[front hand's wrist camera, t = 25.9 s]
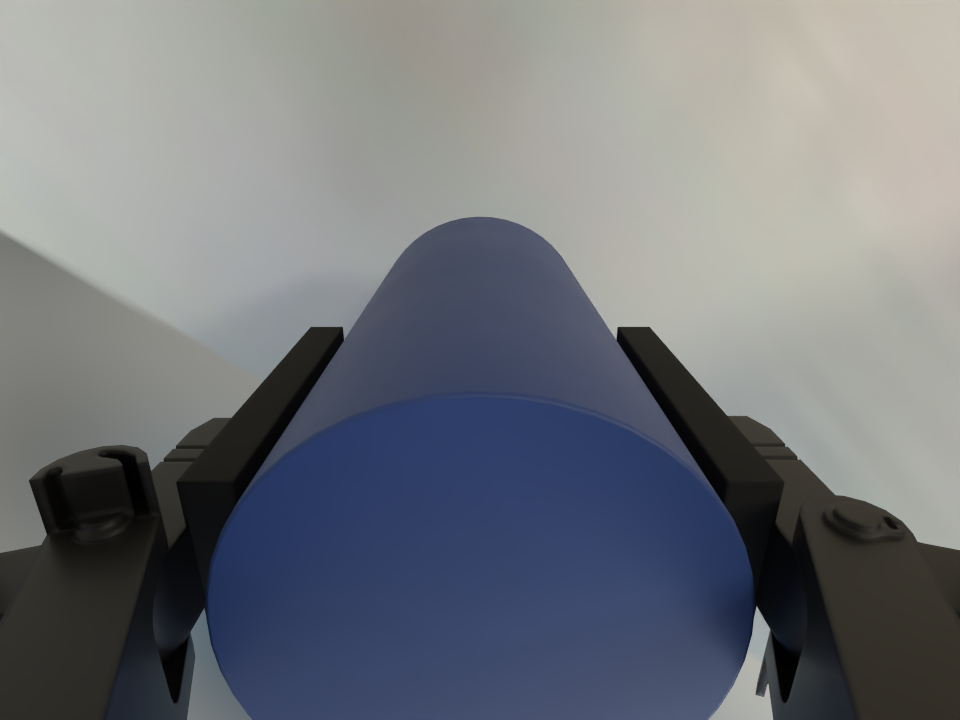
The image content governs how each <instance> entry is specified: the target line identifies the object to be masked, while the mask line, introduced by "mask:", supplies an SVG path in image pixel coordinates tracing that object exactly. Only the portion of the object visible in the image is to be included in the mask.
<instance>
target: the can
mask: <svg viewBox="0 0 960 720" xmlns="http://www.w3.org/2000/svg"><path fill="white" fill-rule="evenodd" d="M754 610H755V599H754V584H753V574H752V570H751V566H750V562H749V558H748V554H747V550H746V547H745V544H744V542H743V540H742V538H741V535H740V533H739V531H738V528H737V526H736V524H735V522H734V519H733V518H732V516H731V515H730V513H729V512H728V510H727V509H726V507H725V506H724V504H723V503H722V501H721V500H720V498H719V497H718V495H717V493H716V492H715V490H714V489H713V487H712V486H711V484H710V483H709V481H708V480H707V478H706V477H705V475H704V474H703V472H702V471H701V469H700V468H699V466H698V464H697V463H696V461H695V460H694V458H693V457H692V455H691V454H690V452H689V451H688V449H687V448H686V446H685V445H684V443H683V442H682V440H681V438H680V437H679V435H678V434H677V432H676V431H675V429H674V428H673V426H672V425H671V423H670V422H669V420H668V419H667V417H666V416H665V414H664V412H663V411H662V409H661V408H660V406H659V405H658V403H657V402H656V400H655V399H654V397H653V396H652V394H651V393H650V391H649V390H648V388H647V387H646V385H645V383H644V382H643V380H642V379H641V377H640V376H639V374H638V373H637V371H636V370H635V368H634V367H633V365H632V364H631V362H630V361H629V359H628V357H627V356H626V354H625V353H624V351H623V350H622V348H621V347H620V345H619V344H618V342H617V341H616V339H615V338H614V336H613V335H612V333H611V332H610V330H609V328H608V327H607V325H606V324H605V322H604V321H603V319H602V318H601V316H600V315H599V313H598V312H597V310H596V309H595V307H594V306H593V304H592V302H591V301H590V299H589V298H588V296H587V295H586V293H585V292H584V290H583V289H582V287H581V286H580V284H579V283H578V281H577V280H576V278H575V277H574V275H573V273H572V272H571V270H570V269H569V267H568V266H567V264H566V263H565V261H564V260H563V258H562V257H561V255H560V254H559V253H558V252H557V251H556V250H555V249H554V247H553V246H552V245H551V244H549V243H548V242H547V241H546V240H545V239H544V238H542V237H541V236H539V235H538V234H536V233H535V232H533V231H532V230H530V229H528V228H526V227H524V226H522V225H519V224H517V223H514V222H511V221H507V220H504V219H498V218H492V217H471V218H462V219H458V220H454V221H450V222H447V223H445V224H442V225H439V226H437V227H435V228H433V229H431V230H430V231H428V232H426V233H424V234H423V235H422V236H420V237H419V238H418V239H416V240H415V241H414V242H413V243H412V244H411V245H410V246H409V247H408V248H407V249H406V250H405V251H404V252H403V253H402V255H401V256H400V257H399V258H398V260H397V261H396V263H395V264H394V266H393V267H392V269H391V270H390V272H389V273H388V275H387V276H386V278H385V279H384V281H383V282H382V284H381V285H380V287H379V288H378V290H377V291H376V293H375V294H374V296H373V297H372V299H371V300H370V302H369V303H368V305H367V307H366V308H365V310H364V311H363V313H362V314H361V316H360V317H359V319H358V320H357V322H356V323H355V325H354V326H353V328H352V329H351V331H350V332H349V334H348V335H347V337H346V338H345V340H344V341H343V343H342V344H341V346H340V348H339V349H338V351H337V352H336V354H335V355H334V357H333V358H332V360H331V361H330V363H329V364H328V366H327V367H326V369H325V370H324V372H323V373H322V375H321V376H320V378H319V379H318V381H317V382H316V384H315V385H314V387H313V388H312V390H311V392H310V393H309V395H308V396H307V398H306V399H305V401H304V402H303V404H302V405H301V407H300V408H299V410H298V411H297V413H296V414H295V416H294V417H293V419H292V420H291V422H290V423H289V425H288V426H287V428H286V429H285V431H284V433H283V434H282V436H281V437H280V439H279V440H278V442H277V443H276V445H275V446H274V448H273V449H272V451H271V452H270V454H269V455H268V457H267V458H266V460H265V461H264V463H263V464H262V466H261V467H260V469H259V470H258V472H257V473H256V475H255V477H254V478H253V480H252V481H251V483H250V484H249V486H248V487H247V489H246V490H245V492H244V493H243V495H242V496H241V498H240V499H239V501H238V502H237V504H236V506H235V507H234V509H233V511H232V513H231V515H230V516H229V518H228V520H227V522H226V523H225V525H224V527H223V529H222V530H221V533H220V536H219V539H218V541H217V544H216V547H215V550H214V553H213V555H212V558H211V563H210V569H209V575H208V581H207V587H206V618H207V624H208V629H209V635H210V641H211V645H212V648H213V651H214V654H215V657H216V660H217V662H218V665H219V668H220V671H221V673H222V675H223V676H224V678H225V680H226V682H227V684H228V686H229V688H230V689H231V691H232V693H233V695H234V696H235V698H236V699H237V700H238V702H239V703H240V704H241V706H242V707H243V708H244V710H245V711H246V713H247V714H248V715H249V717H250V718H251V719H252V720H708V719H709V718H710V717H711V716H712V715H713V714H714V713H715V711H716V710H717V709H718V708H719V706H720V705H721V703H722V702H723V700H724V699H725V697H726V695H727V694H728V692H729V691H730V689H731V688H732V686H733V685H734V682H735V680H736V678H737V676H738V674H739V672H740V669H741V667H742V665H743V663H744V661H745V657H746V654H747V650H748V647H749V643H750V639H751V636H752V629H753V620H754Z"/></svg>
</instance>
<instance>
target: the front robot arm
mask: <svg viewBox="0 0 960 720" xmlns="http://www.w3.org/2000/svg"><path fill="white" fill-rule="evenodd" d="M343 341H344V336H343V327H311V328H310V329H309V330H308V331H307V332H306V333H305V335H304V336H303V337H302V338H301V339H300V340H299V341H298V343H297V344H296V345H295V346H294V347H293V348H292V349H291V351H290V352H289V353H288V354H287V355H286V356H285V357H284V359H283V360H282V361H281V362H280V363H279V364H278V365H277V367H276V368H275V369H274V370H273V371H272V372H271V373H270V375H269V376H268V377H267V378H266V379H265V380H264V381H263V383H262V384H261V385H260V386H259V387H258V388H257V389H256V391H255V392H254V393H253V394H252V395H251V396H250V398H249V399H248V400H247V401H246V402H245V403H244V404H243V406H242V407H241V408H240V409H239V410H238V411H237V412H236V414H235V415H234V416H233V417H232V418H213V419H211V420H210V421H208V422H206V423H204V424H202V425H200V426H199V427H197V428H195V429H193V430H191V431H190V432H189V433H188V434H187V435H186V436H185V437H184V438H183V439H182V440H181V441H180V442H179V443H178V444H177V446H176V449H173V450H172V451H171V452H170V453H169V454H168V455H167V456H166V457H165V458H164V462H160V463H159V464H158V465H157V466H156V467H155V468H154V469H153V470H152V471H151V469H150V465H149V461H148V457H147V453H145V452H144V451H142V450H141V449H139V448H138V447H131V446H124V445H117V446H102V447H98V448H93V449H89V450H84V451H80V452H77V453H74V454H72V455H69V456H66V457H64V458H61V459H58V460H57V461H55V462H53V463H51V464H49V465H48V466H46V467H44V468H42V469H41V470H39V471H38V472H37V473H36V474H35V475H34V476H33V477H32V478H31V479H30V480H29V482H30V485H31V488H32V491H33V494H34V497H35V500H36V503H37V506H38V509H39V512H40V515H41V518H42V521H43V524H44V527H45V530H46V533H47V536H46V538H45V539H44V541H43V543H42V545H40V546H35V547H30V548H25V549H19V550H14V551H9V552H4V553H0V720H187V714H188V706H189V699H190V691H191V684H192V676H193V669H194V662H195V653H194V646H193V641H192V637H191V633H190V632H191V630H192V628H193V626H194V625H195V623H196V621H197V620H198V618H199V616H200V614H201V613H202V611H203V609H204V608H205V612H206V587H207V581H208V575H209V569H210V563H211V558H212V555H213V553H214V550H215V547H216V544H217V541H218V539H219V536H220V533H221V530H222V529H223V527H224V525H225V523H226V522H227V520H228V518H229V516H230V515H231V513H232V511H233V509H234V507H235V506H236V504H237V502H238V501H239V499H240V498H241V496H242V495H243V493H244V492H245V490H246V489H247V487H248V486H249V484H250V483H251V481H252V480H253V478H254V477H255V475H256V473H257V472H258V470H259V469H260V467H261V466H262V464H263V463H264V461H265V460H266V458H267V457H268V455H269V454H270V452H271V451H272V449H273V448H274V446H275V445H276V443H277V442H278V440H279V439H280V437H281V436H282V434H283V433H284V431H285V429H286V428H287V426H288V425H289V423H290V422H291V420H292V419H293V417H294V416H295V414H296V413H297V411H298V410H299V408H300V407H301V405H302V404H303V402H304V401H305V399H306V398H307V396H308V395H309V393H310V392H311V390H312V388H313V387H314V385H315V384H316V382H317V381H318V379H319V378H320V376H321V375H322V373H323V372H324V370H325V369H326V367H327V366H328V364H329V363H330V361H331V360H332V358H333V357H334V355H335V354H336V352H337V351H338V349H339V348H340V346H341V344H342V343H343ZM617 342H618V344H619V345H620V347H621V348H622V350H623V351H624V353H625V354H626V356H627V357H628V359H629V361H630V362H631V364H632V365H633V367H634V368H635V370H636V371H637V373H638V374H639V376H640V377H641V379H642V380H643V382H644V383H645V385H646V387H647V388H648V390H649V391H650V393H651V394H652V396H653V397H654V399H655V400H656V402H657V403H658V405H659V406H660V408H661V409H662V411H663V412H664V414H665V416H666V417H667V419H668V420H669V422H670V423H671V425H672V426H673V428H674V429H675V431H676V432H677V434H678V435H679V437H680V438H681V440H682V442H683V443H684V445H685V446H686V448H687V449H688V451H689V452H690V454H691V455H692V457H693V458H694V460H695V461H696V463H697V464H698V466H699V468H700V469H701V471H702V472H703V474H704V475H705V477H706V478H707V480H708V481H709V483H710V484H711V486H712V487H713V489H714V490H715V492H716V493H717V495H718V497H719V498H720V500H721V501H722V503H723V504H724V506H725V507H726V509H727V510H728V512H729V513H730V515H731V516H732V518H733V519H734V522H735V524H736V526H737V528H738V531H739V533H740V535H741V538H742V540H743V542H744V544H745V547H746V550H747V554H748V558H749V562H750V566H751V570H752V574H753V584H754V599H755V610H756V606H757V607H758V609H759V611H760V612H761V614H762V616H763V617H764V619H765V621H766V622H767V624H768V626H769V628H770V633H769V637H768V641H767V645H766V649H765V654H764V658H763V662H762V666H761V670H760V674H759V678H758V682H757V689H756V695H759V696H762V697H764V694H765V691H766V686H767V684H768V683H769V690H770V697H771V704H772V712H773V720H960V550H955V549H950V548H945V547H939V546H934V545H929V544H924V543H920V542H917V540H916V538H915V537H914V535H913V533H912V532H911V531H910V530H909V529H908V527H907V526H906V525H905V524H904V523H903V522H902V521H901V520H899V519H898V518H896V517H895V516H893V515H892V514H890V513H889V512H887V511H886V510H884V509H881V508H879V507H877V506H874V505H872V504H870V503H867V502H865V501H861V500H857V499H853V498H850V497H846V496H837V495H835V494H834V493H833V492H832V491H831V490H830V489H829V488H828V487H827V486H826V485H825V484H824V483H823V482H822V481H821V480H820V479H819V478H818V477H817V476H816V475H815V474H814V473H813V472H812V471H811V470H810V469H809V468H808V467H807V466H806V465H805V464H804V463H803V462H802V461H801V460H798V459H797V456H796V455H795V454H794V453H793V452H792V451H791V450H790V449H789V448H788V447H785V443H784V442H783V441H782V440H781V439H780V438H779V437H778V436H777V435H776V434H775V433H774V432H773V431H772V430H771V429H769V428H768V427H766V426H764V425H762V424H760V423H759V422H757V421H755V420H753V419H751V418H749V417H748V416H727V415H726V414H725V413H724V412H723V411H722V409H721V408H720V407H719V406H718V405H717V404H716V403H715V401H714V400H713V399H712V398H711V397H710V396H709V395H708V393H707V392H706V391H705V390H704V389H703V388H702V387H701V385H700V384H699V383H698V382H697V381H696V380H695V379H694V377H693V376H692V375H691V374H690V373H689V372H688V371H687V369H686V368H685V367H684V366H683V365H682V364H681V363H680V361H679V360H678V359H677V358H676V357H675V356H674V355H673V353H672V352H671V351H670V350H669V349H668V348H667V346H666V345H665V344H664V343H663V342H662V341H661V340H660V338H659V337H658V336H657V335H656V334H655V333H654V332H653V330H652V329H651V328H650V327H618V331H617ZM755 610H754V614H755Z"/></svg>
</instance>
